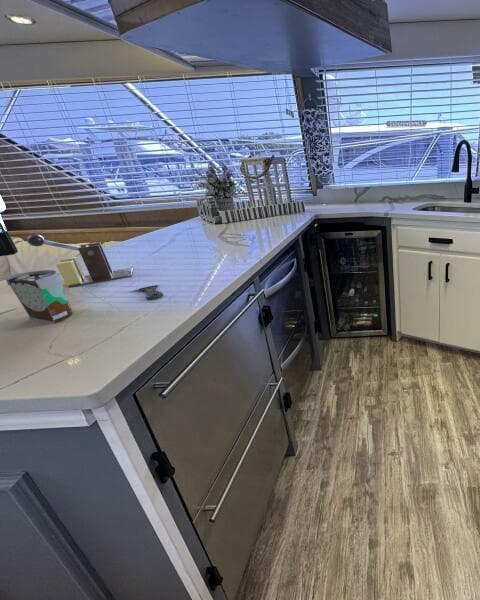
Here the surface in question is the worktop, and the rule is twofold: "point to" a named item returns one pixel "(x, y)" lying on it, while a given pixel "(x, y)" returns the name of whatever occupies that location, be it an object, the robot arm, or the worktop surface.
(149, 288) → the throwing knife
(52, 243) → the lever
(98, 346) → the worktop surface
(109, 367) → the worktop surface
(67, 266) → the butter
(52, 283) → the food container
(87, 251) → the slicer
